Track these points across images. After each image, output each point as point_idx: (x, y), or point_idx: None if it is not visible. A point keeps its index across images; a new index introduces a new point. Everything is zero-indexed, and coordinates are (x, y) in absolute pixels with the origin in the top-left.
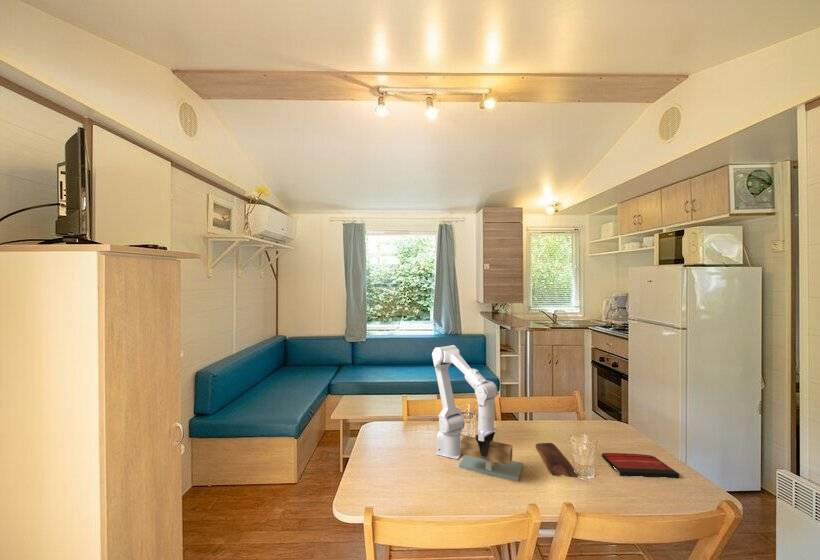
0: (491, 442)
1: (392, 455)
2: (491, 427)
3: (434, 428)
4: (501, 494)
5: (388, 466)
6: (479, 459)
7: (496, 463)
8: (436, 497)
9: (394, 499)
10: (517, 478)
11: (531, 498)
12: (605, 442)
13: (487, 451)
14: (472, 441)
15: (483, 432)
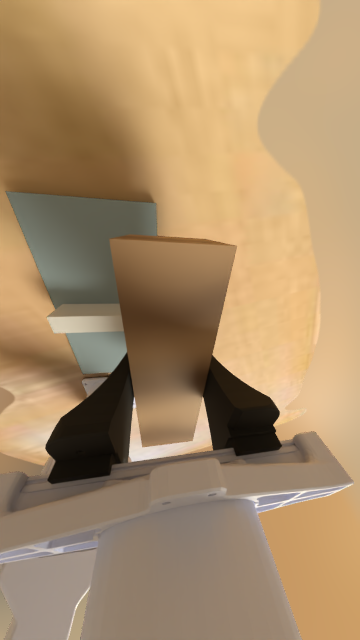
0: (151, 372)
1: None
2: (257, 570)
3: (31, 440)
4: (242, 253)
5: (203, 427)
6: (106, 342)
7: (96, 297)
8: (269, 361)
9: (277, 395)
10: (154, 207)
11: (248, 133)
12: None
13: (214, 357)
14: (181, 421)
15: (285, 500)
